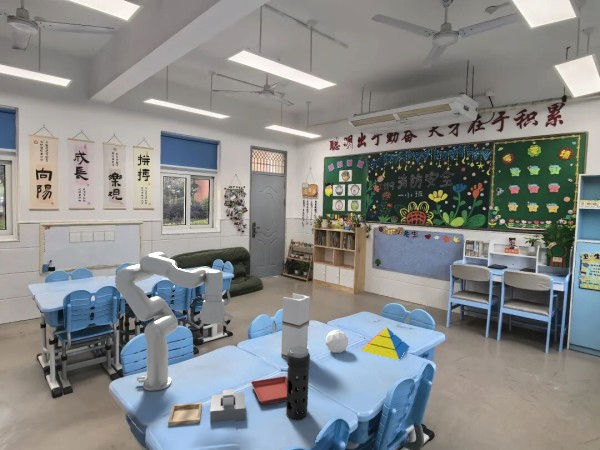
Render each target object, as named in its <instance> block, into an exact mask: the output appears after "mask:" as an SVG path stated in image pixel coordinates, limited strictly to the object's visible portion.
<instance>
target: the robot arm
mask: <svg viewBox="0 0 600 450" xmlns="http://www.w3.org/2000/svg"><path fill="white" fill-rule="evenodd" d="M154 275H156V276H160V277H162V278H163V277H164V278H167V279H168V280H169V282H171V283H173V284H174V285H176V286H179V287H183V288H186V289H194V288H197V287H199V286H202V285H204V286H205V287H204V288H205V290H204V291H205V292H204V293H205V294H203V295H201V299H204V300H203V301H202V306H201V308H202V309H201V312H200V313H198V314H196V315H194V316H193V320H194V322H195V324H196V325H197V326H198V327H199V334H200V336H201V337H203V336H204V324H205V325H212V324H214V325H215V324H216V325H217V324H218V325H219V324H222V336H225V334H226V333H227V327H228V325H229V324H230V323H231V322H232V320H233V318H234V316H233V315H232V314H231V313H228V312H226V307H225V300H224V299H223V287H224V285H223V281H224V280H223V279H224V273H223V271H222V270H219V269H209V268H206V267H198V268H195V269H192V270H185V269H182V268H180V267H179V268H178V263H177V261H176V260H174V259H171V258H168V256H167V254H165V253H164V252H162V251H156V252H155V251H154V252H151V253H147V254H145V255H143V256H141V258H140V259H139V263H135V264H132V265H127V266H125V267H123V268H121V269H119V270H118V271H117V273H116V274H115V278H114V284H115V287H116V290H117V291H118V293H120V295H121V296H122V297H123V298H124V300H125V301H126V303H127V304H128V305H129V307H130V309H131V310H132V312H133V313H134V315H135V316H136V318H137V319H138V320H139V321H141V322H147V321H149V320H151V319H153V318H155V319H153V320H152V321H150V322H149V323H147V325H146V327H144V331H143V332H144V339H145V343H146V345H145V346H146V375H143V376H142V375H139V376H136V381H137V382H138V383H139V384H140V383H141V384H142V383H143V384H142V386H143V389H144V390H145V391H149V392H155V391H162V390H164V389H167V388H168V387H170V386H171V384H172V378H171V377H169V345H168V342H167V340H166V338H167V336H169V335H171V334H172V333H174V332H175V331H176V330H177V329H178V326H179V322H178V321H179V320H178V318H177V317H176V315H175V313H174V312H173V311H172V309H171V307H170V306H169V304H168V303H167V302H166V300H164V298H163V297H161V296H159V295H158V296H156V295H154V296H151V297H150V298H149V297H148V296H147V294H146V292H145V291H144V290H143V289H142V288H141V287H140V286H138V285H136V283H138V282H142V281H145V280H147V279H149V278H151V277H153V276H154ZM226 317H227V318H228V319H227V320H225V319H226ZM199 318H201V321H199Z"/></svg>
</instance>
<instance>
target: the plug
mask: <svg viewBox="0 0 600 450" xmlns="http://www.w3.org/2000/svg"><path fill="white" fill-rule="evenodd" d="M234 391H235V390H234V388H232V389H231V388H230V389H229V388H228V389H223V390H222V394H223V406H228V405H234V393H235V392H234Z"/></svg>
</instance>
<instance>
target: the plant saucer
mask: <svg viewBox="0 0 600 450" xmlns="http://www.w3.org/2000/svg"><path fill="white" fill-rule="evenodd" d="M250 384H251V385H252V388H253V390H254V392H255V394H256V396H257V399H258V401H259V402H260V403H261V404H262V406H263V405H268V404H275V403H279V402H280V403H281V402H285V401H286V402H287V376H286V375H284V376H277V377H272V378H265V379H259V380H258V379H257V380H252V381H251V382H250ZM291 392H292V391H291Z"/></svg>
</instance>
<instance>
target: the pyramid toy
mask: <svg viewBox="0 0 600 450" xmlns="http://www.w3.org/2000/svg"><path fill="white" fill-rule="evenodd" d="M409 348H410V346H409V344H407V343H406V342H405V341H403V340H402V339H401V338H400V337H399V336H398V335H396V334H395V333H394V332H393V331H392V330H391V329H389V328H388V327H385V328H384V329H382V330H381V331H380V332H379V333H377V335H375V336H374V337H373V338H372V339H370V340H369V342H367V344H365V345H364V346H363V348H361V349H360V351H361V352H364V353H368V354H371V355H375V354H376V356H379V355H380V357H383V356H385V357H384V358H387V357H389V358H388V359H391V358H393V359H392V360H395V359H398V360H397V361H399V359H400V358H401V357H402V358H403V356H404V355H403V353H404V352H405V353H407V351H408V350H409ZM402 355H403V356H402ZM402 358H401V359H402ZM401 359H400V360H401Z"/></svg>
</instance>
